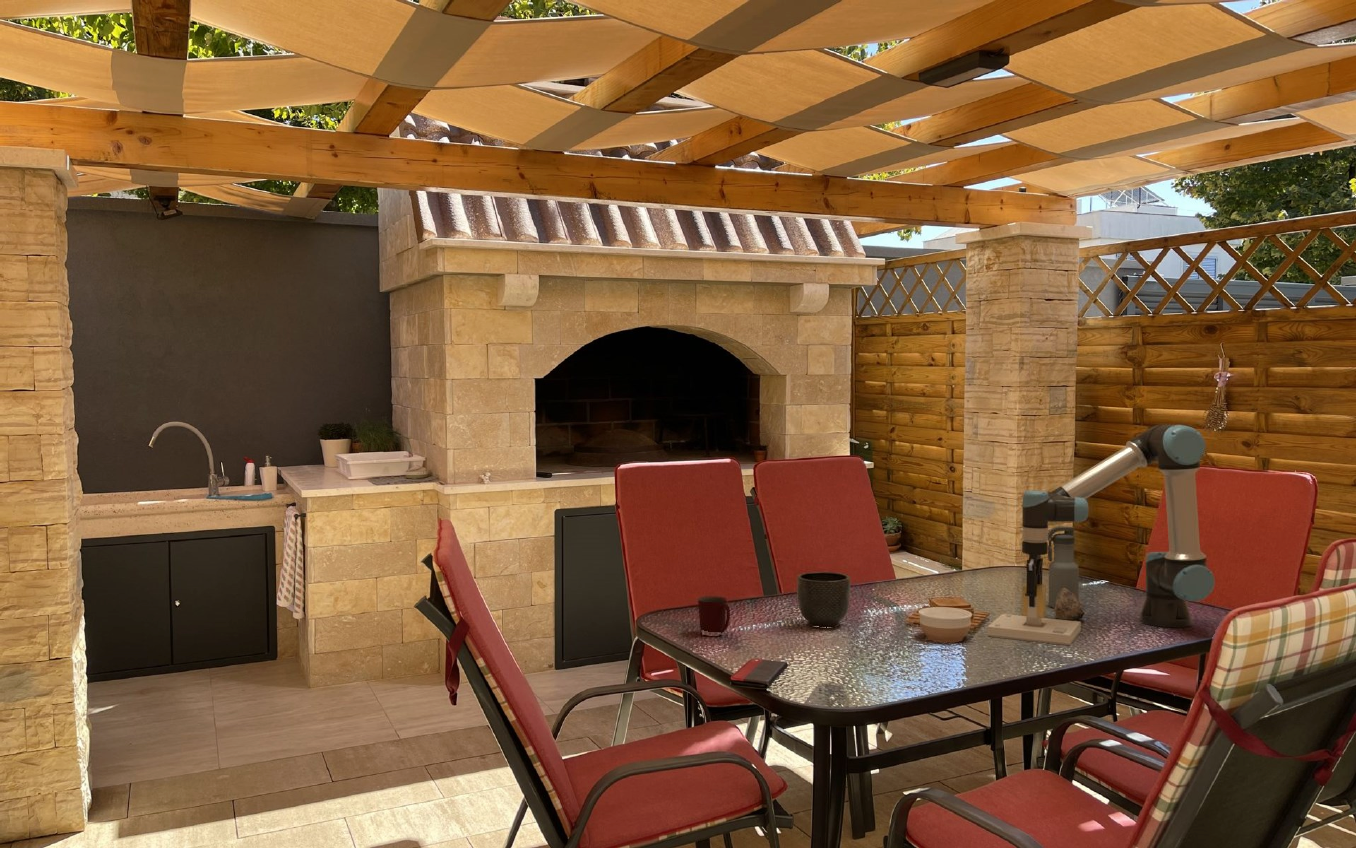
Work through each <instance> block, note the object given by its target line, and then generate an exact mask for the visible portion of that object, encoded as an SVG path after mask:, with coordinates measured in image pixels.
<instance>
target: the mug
mask: <svg viewBox="0 0 1356 848" xmlns="http://www.w3.org/2000/svg"><path fill="white" fill-rule="evenodd" d="M697 601H698V602H697V604H698V617H699V618H698V619H699V628H700V629H701V630H704V631H708V632H721V633H722V632H724V633H725V632H726V630H727V629H728V627H729V624H730V620H731V619H730V617H731V611H730V606H729V605H728V604H727V598H726V597H723V596H712V595H711V596H709V595H708V596H702V597H699V598H698V599H697ZM700 629H699V630H700ZM701 630H700V631H701Z"/></svg>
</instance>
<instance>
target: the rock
mask: <svg viewBox="0 0 1356 848" xmlns="http://www.w3.org/2000/svg"><path fill="white" fill-rule="evenodd" d="M1053 612H1054V616H1055V617H1056V618H1057V619H1058V620H1067V621H1077V622H1081V620H1082V619H1083V617H1084V615H1085V612H1084V610H1083V606H1082V604H1081V602H1080V599H1079V600H1078V598H1077V596H1075V595H1074V594H1073V593H1071V591H1069V590H1067V589H1066V588H1062V590H1060V592H1059V593H1058V595H1057V597H1056V606H1055V608H1053Z"/></svg>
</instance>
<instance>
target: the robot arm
mask: <svg viewBox="0 0 1356 848" xmlns="http://www.w3.org/2000/svg"><path fill="white" fill-rule="evenodd" d="M1205 452H1206V441H1205V439H1204V436H1203V435H1202V433H1200V432H1199V431H1198V430H1197V429H1195V428H1194V427H1191V426H1188V425H1183V424H1169V423H1160V424H1156V425H1154V426H1152V427H1149V428H1148V429H1146V430H1145V431H1143V432H1141V433H1139V434H1138V435H1136V436H1135V437H1133V438H1131V439H1130V440H1128V441H1126V444H1125V447H1123V448H1121V449H1120V450H1118V451H1116V452H1115V453H1113V454H1112V455H1110V456H1108V457H1106V458H1105V459H1103V460H1102V461H1100V462H1098V463H1097V464H1095V465H1093V466H1092V467H1090V468H1089V469H1087V470H1085V471H1083V472H1081V473H1080V474H1078V475H1077V476H1075V477H1074V478H1072V479H1071V480H1068V481H1067V482H1065V483H1064V484H1062V485H1060V486H1059V487H1056V488H1055V489H1054V490H1052V491H1046V490H1045V491H1044V490H1027V491H1026V490H1025V491H1024V493H1023V495H1022V501H1021V502H1022V505H1021V509H1022V510H1021V511H1022V512H1021V513H1022V518H1021V519H1022V528H1021V529H1020V532H1021V533H1022V534H1021V535H1022V536H1021V537H1022V538H1021V539H1022V540H1023V541H1022V542H1021V543H1022V544H1021V552H1022V553H1023V554H1026V555H1028V559H1027V560H1026V565H1025V568H1026V583H1027V587H1026V594H1025V596H1028V617H1034V618H1037V584H1038V585H1043V564H1044V563H1043V562H1044V558H1043V557H1042V556H1044V555H1048V545H1049V542H1048V532H1049V522H1050V523H1051V522H1052V523H1053V522H1063V523H1068V522H1069V523H1070V522H1071V523H1072V522H1073V523H1079V522H1085V521H1086V520H1087V519H1088V516H1089V510H1090V509H1089V508H1090V507H1089V503H1088V501H1087V499H1088V498H1089V497H1092V496H1093V495H1095V494H1096V493H1097V492H1099V491H1102V490H1103V489H1105V488H1106V487H1108V486H1109V485H1112V484H1113V483H1115V482H1116V481H1118V480H1119V479H1121V478H1124V477H1125V476H1127V475H1128V474H1130V473H1131V472H1133V471H1136V469H1138V468H1140V467H1142V468H1146V467H1147V466H1149V465H1151V464H1154V463H1157V469H1158V470H1159V472H1161V473H1162V474H1163V476H1164V492H1165V504H1166V505H1165V507H1166V517H1167V518H1166V520H1167V521H1166V522H1167V535H1168V536H1167V537H1168V549H1169V550H1168V551H1149V552H1148V553H1146V558H1145V598H1144V601H1143V604H1142V607H1141V609H1140V613H1139V621H1140V623H1143V624H1145V625H1149V626H1152V627H1153V626H1154V627H1160V628H1161V627H1162V628H1186V627H1190V626H1192V615H1191V613H1190V609H1189V606H1188V603H1187V601H1188V602H1199V601H1203V600H1204V599H1206V598H1208V596H1209V595H1210V594H1211V593H1212V592H1213V589H1214V588H1215V582H1216V581H1215V580H1216V579H1215V577H1214V573H1213V572H1212V570H1210V568H1208V566H1207V564H1208V563H1207V555H1206V554H1205V553H1204V552H1202V550H1201V545H1200V531H1199V530H1200V529H1199V526H1200V525H1199V514H1198V499H1197V485H1196V484H1197V483H1196V473H1197V472H1198V471H1199V470H1200V469H1201V464H1200V463H1201V462H1200V461H1201V459H1202V457H1204V455H1205ZM1031 591H1032V592H1031Z"/></svg>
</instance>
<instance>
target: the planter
mask: <svg viewBox="0 0 1356 848" xmlns="http://www.w3.org/2000/svg"><path fill="white" fill-rule="evenodd" d="M796 595H797V602H798V603H797V604H798V608H799V611H800V614H801V615H802V617H803V618H804V619H805V621H807V622H808V624H809V625H810V624H811V625H812V626H819V627H826V628H825V629H828V628H827V627H834V628H836V627H835V626H837V627H838V626H839V624H840V623H841V621H842V620H844V618H845V617H846V616H847V614H848V611H849V607H850V601H851V600H850V599H851V576H850V575H848V574H845V573H840V572H831V571H813V572H812V571H811V572H810V571H809V572H805V573H804V572H803V573H800V574H797V577H796ZM812 626H811V627H812Z"/></svg>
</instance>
